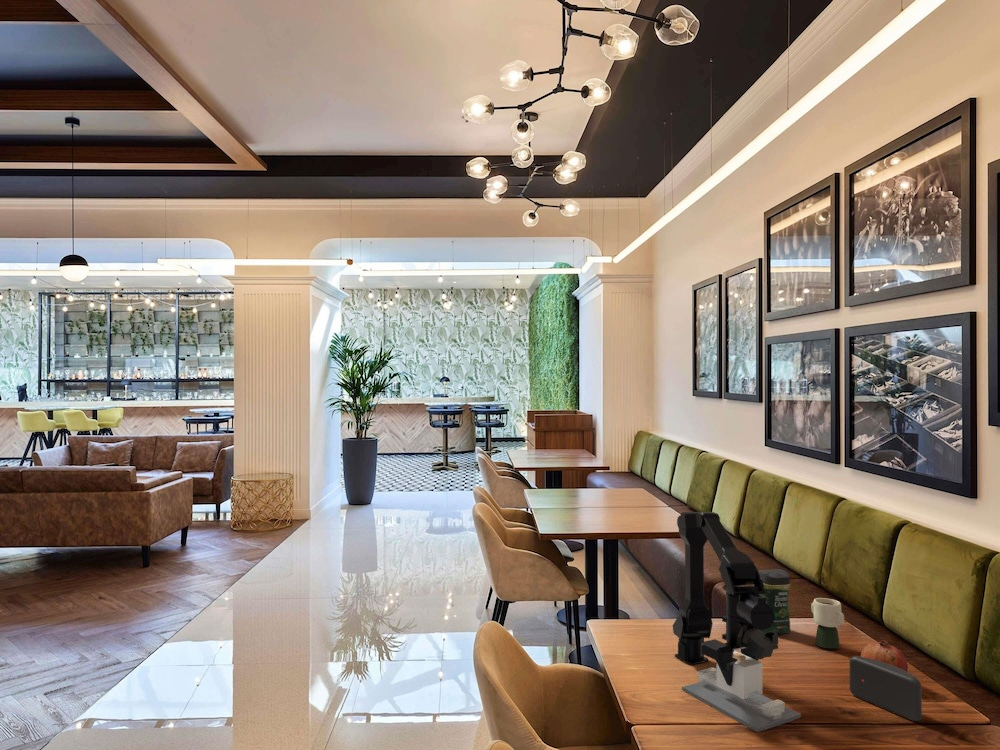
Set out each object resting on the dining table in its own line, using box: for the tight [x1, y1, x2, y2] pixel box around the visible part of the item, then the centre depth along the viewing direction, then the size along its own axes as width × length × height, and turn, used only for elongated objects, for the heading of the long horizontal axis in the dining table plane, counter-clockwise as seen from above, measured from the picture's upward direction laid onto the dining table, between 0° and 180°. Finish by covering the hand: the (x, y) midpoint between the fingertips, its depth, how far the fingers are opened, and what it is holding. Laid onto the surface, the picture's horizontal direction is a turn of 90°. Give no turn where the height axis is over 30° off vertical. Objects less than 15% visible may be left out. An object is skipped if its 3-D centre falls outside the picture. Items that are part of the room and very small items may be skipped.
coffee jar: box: [758, 568, 791, 635], centre depth 197 cm, size 10×8×19 cm
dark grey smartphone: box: [849, 655, 923, 723], centre depth 148 cm, size 16×5×9 cm, turn 28°
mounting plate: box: [681, 678, 802, 733], centre depth 148 cm, size 14×22×1 cm, turn 28°
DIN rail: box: [697, 667, 786, 721], centre depth 149 cm, size 5×21×3 cm, turn 28°
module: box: [716, 650, 763, 699], centre depth 149 cm, size 6×8×8 cm
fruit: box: [860, 639, 909, 672], centre depth 162 cm, size 11×10×10 cm
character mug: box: [811, 597, 845, 650], centre depth 184 cm, size 11×7×13 cm, turn 21°
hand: (738, 682), depth 149 cm, fingers closed on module, 6 cm apart
